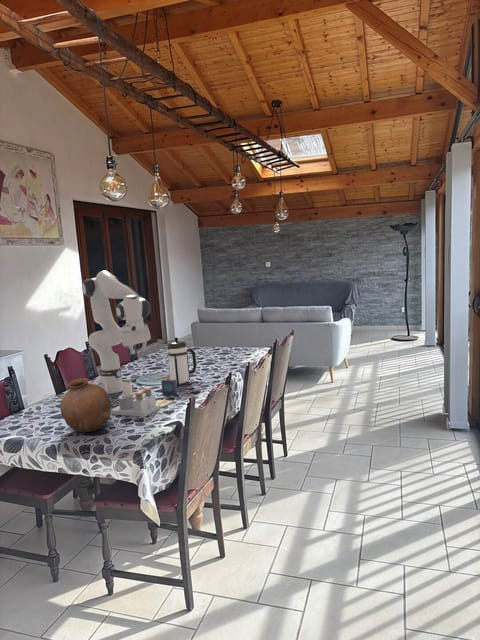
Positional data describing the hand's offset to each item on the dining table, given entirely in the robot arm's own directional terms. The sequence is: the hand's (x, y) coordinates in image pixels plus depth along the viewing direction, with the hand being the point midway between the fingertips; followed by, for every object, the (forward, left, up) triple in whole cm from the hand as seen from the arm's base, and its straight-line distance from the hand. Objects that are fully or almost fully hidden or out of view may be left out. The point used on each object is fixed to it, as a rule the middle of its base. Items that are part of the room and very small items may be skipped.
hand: (138, 351), depth 250 cm
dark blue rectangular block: (-2, +27, -32) cm, 41 cm away
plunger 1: (+3, -7, -27) cm, 28 cm away
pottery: (-10, -32, -32) cm, 46 cm away
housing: (-4, -3, -32) cm, 32 cm away
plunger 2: (+3, +1, -27) cm, 27 cm away
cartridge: (-8, -3, -30) cm, 31 cm away
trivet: (+3, +10, -32) cm, 33 cm away
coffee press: (-8, +50, -32) cm, 59 cm away
